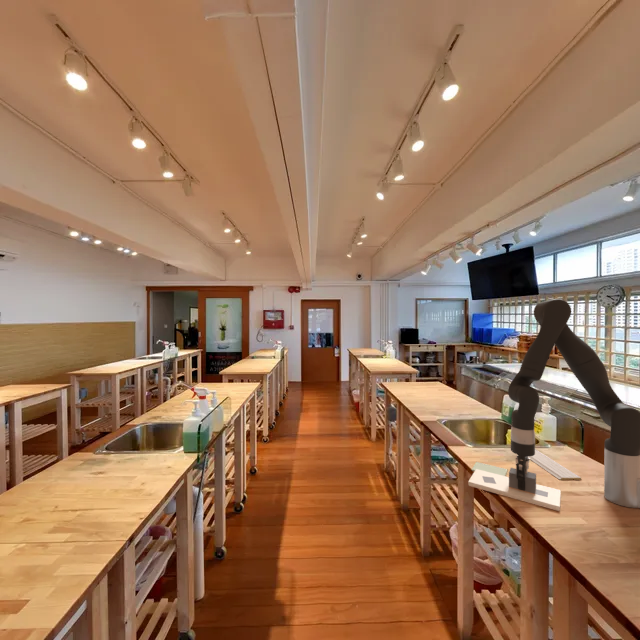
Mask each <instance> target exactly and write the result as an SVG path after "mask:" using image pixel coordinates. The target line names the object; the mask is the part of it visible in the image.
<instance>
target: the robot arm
mask: <svg viewBox="0 0 640 640" xmlns="http://www.w3.org/2000/svg"><path fill="white" fill-rule="evenodd" d="M571 315H572V308H571V305H570V304H569V303H568V301H566V300H564V299H562V298H554V299H548V300H544V301H540V302H539V303H537V304H536V305H535V307H534V309H533V316H534V319H535V321H536V322H537V324H538V325H539V326H540V329H539V331H538V333H537V336H536V337H535V339H534V340H533V342H532V343H531V344H530V346H529V348H528V349H527V351H526V353H525V355H524V357H523V360H522V363H521V365H520V368H519V370H518V372H517V373H516V375H515V376H514V377H513V379H512V381H510V384H509V386H508V389H507V394H508V397H509V399H510V400H512V402H513V401H514V402H515V403H518V407H517V409H515V410H512V413H511V428H510V451H511V452H512V453H513V454H515V455H516V457H515V469H516V471H517V476H516V478H517V479H518V489H519V490H523V491H525V480H526V474H527V472H529V469H530V468H529V467H530V459H529V458H528V456H534V455H535V449H536V433H535V416H536V413H537V411H538V407H539V404H540V395H539V392H538V390H536V388H535V387H532V383H533V382H537V381H540V380H541V379H542V377H543V374H544V371H545V369H546V367H547V363H548V360H549V359H550V355H551V353H552V351H553V349H554V347H556V349H557V350H558V351H559V353H560V355H561V356H562V358H563V359H564V361H565V362H566V364H567V366H568V367H569V369H570V370H571V372H572V373H573V375H574V376H575V378H576V379H577V380H578V382H579V383H580V385H581V386H582V387H583V388H584V390H585V391H586V393H587V394H588V395H589V397H590V399H591V401H592V402H593V404H594V406H595V409H596V410H597V413H598V414H599V416H600V418H601V419H602V421H603V422H604V423H605V424H606V425H607V426H608V427H610V435H609V438H605V440H604V455H603V456H604V457H603V458H604V464H603V465H604V468H603V469H604V472H603V474H604V476H603V477H604V478H603V479H604V481H603V482H604V483H603V484H604V485H603V486H604V487H603V493H604V494H603V495H604V498H605V499H606V500H608V501H609V502H611V503H614V504H616V505H618V506H622V507H626V508H631V509H632V508H634V509H636V508H638V509H640V411H639V410H638V409H636V408H634V407H631V406H630V405H627V404H625V403H624V402H623V400H622V399H620V397H619V396H618V395H617V393H616V392H615V390H614V389H613V387H612V386H611V383H610V380H609V375H608V371H607V368H606V367H605V365H604V363H603V362H602V360H601V359H600V357H599V356H598V353H596V351H595V350H594V349H593V348H592V347H591V346H590V345H589V344H588V343H587V342H585V341H584V340H583V339H582V338H580V337H579V336H578V335H577V334H576V333H574V331H572V329H571V328H570V327H569V325H568V321H569V319H570V317H571ZM519 474H522V475H523V476H519Z"/></svg>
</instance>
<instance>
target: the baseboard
mask: <svg viewBox="0 0 640 640" xmlns="http://www.w3.org/2000/svg"><path fill="white" fill-rule="evenodd" d="M528 458H529V461H531V462H532V463H534V464H536V465H537V466H538V467H540V468H541V469H543V470H545V471H546V472H548V473H549V474H550V475H551V476H553V477H554V478H556V479H558V480H559V481H581V480H582V477H581V476H579V475H577V474H576V473H574V472H572V470H570V469H568V468H566V467H565V466H563V465H561V464H560V463H559V462H557V461H555V460H554V459H552V458H550V457H549V456H547V455H546V454H544V453H542V452H541V451H539V450H538V449H536V448H535V455H534V456H528ZM573 479H574V480H573Z"/></svg>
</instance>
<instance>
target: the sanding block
mask: <svg viewBox="0 0 640 640" xmlns="http://www.w3.org/2000/svg"><path fill="white" fill-rule="evenodd" d="M516 476H517V471H516V467H515V468H513V467H510V469H509V472H508V477H509V488H512V489H516V490H519V489H518V479H517V478H516ZM519 476H523V475H522V474H519ZM536 484H537V473H535V472H531V471H528V472H527V474H526V480H525V491H523V490H519V491H523V492H527V493H530V494H534V495H535V492H536Z"/></svg>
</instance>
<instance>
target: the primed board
mask: <svg viewBox="0 0 640 640" xmlns="http://www.w3.org/2000/svg"><path fill="white" fill-rule="evenodd" d="M467 483H468V484H467V485H468V486H469V487H472V488H476V489H480V490H483V491H487V492H489V493H493V494H497V495H502V496H504V497H507V498H511V499H515V500H518V501H523V502H525V503H529V504H533V505H536V506H540V507H542V508H543V507H544V508H546V509H550V510H554V511H556V512H557V511H558V512H561V498H562V497H561V495H562V494H561V492H562V491H561V489H558V488H554V487H549V486H547V485H546V486H545V485H541V484H538V483H536V492H535V495H534V494H530V493H527V492H523V491H519V490H516V489H512V488H509V476H502V475H498V474H494V473H490V472H486V471H482V470H478V469H476V470H475V471H473V473H472V475H471V477H470V478H469V480H468V482H467Z"/></svg>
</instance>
